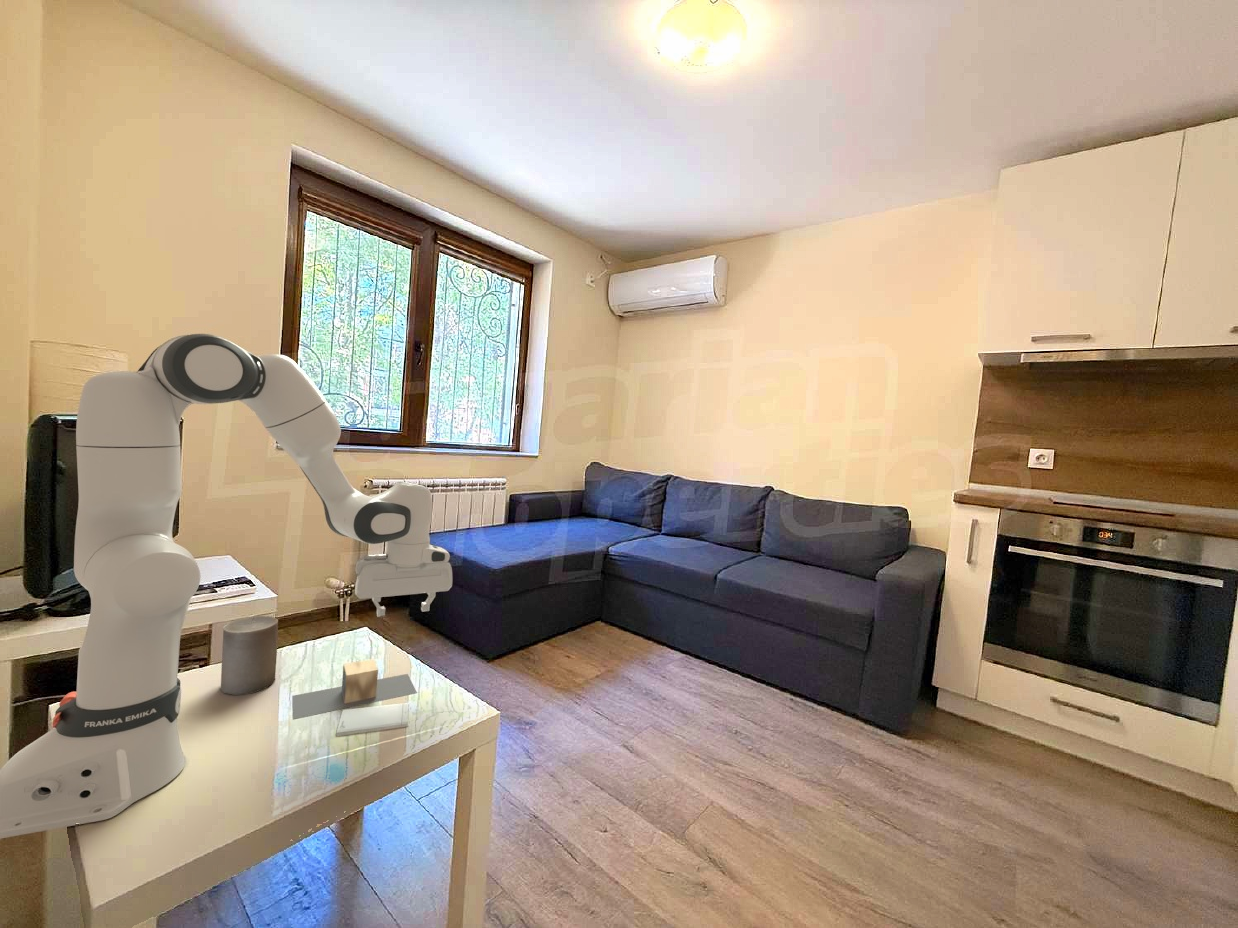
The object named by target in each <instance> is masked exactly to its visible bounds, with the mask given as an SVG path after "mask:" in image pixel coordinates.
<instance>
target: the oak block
mask: <svg viewBox="0 0 1238 928" xmlns="http://www.w3.org/2000/svg"><path fill="white" fill-rule="evenodd" d="M342 667H343V668H342V682H341V686H342V694H343V698H344V703H349V702H354V701H359V700H364V699H368V698H373V697H376V692H377V680H378V679H379V677H378V675H379V669H378V666H377V663H376V661H375V659H374V658H371V659H364V660H359V661H352V662H347V663H343V666H342Z"/></svg>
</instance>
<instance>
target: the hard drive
mask: <svg viewBox="0 0 1238 928" xmlns="http://www.w3.org/2000/svg"><path fill="white" fill-rule="evenodd" d="M409 710H410V703H409V702H404V703H395V704H385V705H384V704H383V705H375V706H367V707H359V708H358V707H357V708H346V709H342V711H341V715H340V718H339V721H338V724H337V728H336V733H335V737H339V736H346V735H348V736H349V735H356V734H361V733H369V732H376V731H383V730H390V729H399V728H404V727H408V726H409V712H410V711H409Z"/></svg>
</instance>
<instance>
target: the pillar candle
mask: <svg viewBox="0 0 1238 928" xmlns="http://www.w3.org/2000/svg"><path fill="white" fill-rule="evenodd" d="M278 628H279V619H278V618H276V617H274V616H269V615H258V616H248V617H243V618H240V619H236V620H233V621H231V622H228V623H227V624H225V625H224V626H223V627H222V630H223V631H222V649H221V653H222V654H221V669H220V670H221V674H220V675H221V676H220V677H221V678H220V691H221V693H223V694H227V695H234V696H240V695H241V696H243V695H248V694H253V693H255V692H258V691H262V690H264V689H266V688H269V686H271V685H272V684H274V683H275V681H276V672H277V671H276V670H277V655H278V634H279V633H278V632H279V629H278Z"/></svg>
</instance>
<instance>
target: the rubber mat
mask: <svg viewBox="0 0 1238 928" xmlns="http://www.w3.org/2000/svg"><path fill="white" fill-rule="evenodd" d="M417 693H418V692H417V690H416V688H415V685H414V684H413V682H412V679H411V678H410V675H409V674H408V673H405V674H400V675H394V676H390V677H389V676H387V677H384V678H377V692H376V697H373V698H368V699H364V700H359V701H354V702H349V703H344V698H343V694H342V685H340V686H336V687H332V688H326V689H321V690H315V691H311V692H305V693H301V694H299V693H298V694H295V695H294V694H293V695H292V720H294V721H295V720H297V719H302V718H307V717H311V716H315V715H321V714H322V715H323V714H326V713H330V712H334V711H339V710H346V709H350V708H353V707H358V706H363V705H367V704H372V703H377V702H381V701H382V702H383V701H386V700H390V699H395V698H401V697H404V696H409V695H414V694H417Z"/></svg>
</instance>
